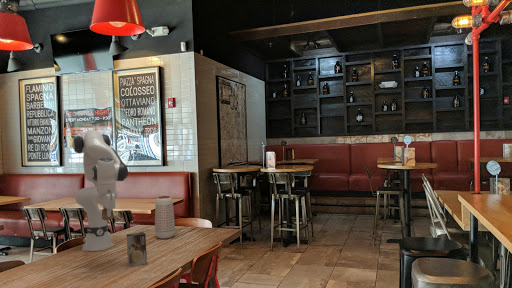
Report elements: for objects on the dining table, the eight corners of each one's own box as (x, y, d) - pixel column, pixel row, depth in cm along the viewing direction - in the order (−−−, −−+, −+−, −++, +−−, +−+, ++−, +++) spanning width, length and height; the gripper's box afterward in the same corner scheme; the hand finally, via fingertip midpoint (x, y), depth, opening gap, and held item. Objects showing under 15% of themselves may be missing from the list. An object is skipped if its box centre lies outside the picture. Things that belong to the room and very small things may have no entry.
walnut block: (102, 218, 193) (101, 209, 193) (111, 217, 196) (110, 208, 196) (103, 220, 189) (103, 210, 189) (113, 219, 192) (112, 209, 192)
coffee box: (144, 260, 204) (143, 231, 204) (147, 263, 198) (146, 233, 198) (127, 263, 199) (126, 233, 199) (129, 266, 194) (128, 236, 194)
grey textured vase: (179, 236, 257) (177, 196, 257) (164, 240, 246) (163, 198, 246) (165, 234, 264) (164, 195, 265) (151, 238, 253) (149, 197, 253)
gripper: (118, 190, 186) (118, 217, 186) (108, 187, 203) (109, 212, 203) (104, 191, 182) (105, 219, 182) (96, 188, 199) (96, 213, 199)
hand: (107, 215), depth 193 cm, fingers closed on walnut block, 4 cm apart
